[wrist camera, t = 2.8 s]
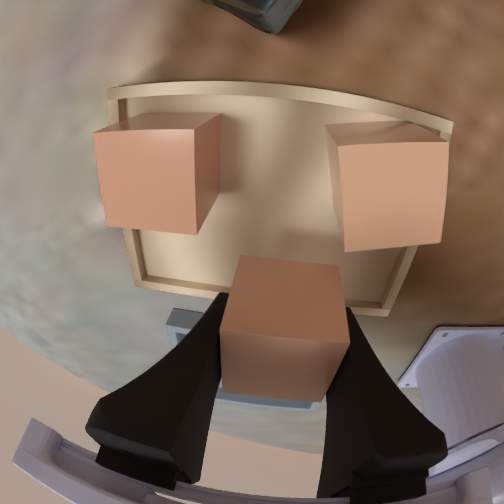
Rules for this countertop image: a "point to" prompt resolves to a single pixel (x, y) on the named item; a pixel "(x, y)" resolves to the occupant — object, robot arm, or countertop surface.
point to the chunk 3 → (387, 183)
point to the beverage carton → (260, 12)
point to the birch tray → (267, 188)
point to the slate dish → (177, 330)
